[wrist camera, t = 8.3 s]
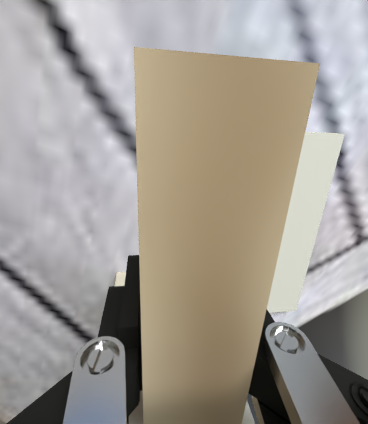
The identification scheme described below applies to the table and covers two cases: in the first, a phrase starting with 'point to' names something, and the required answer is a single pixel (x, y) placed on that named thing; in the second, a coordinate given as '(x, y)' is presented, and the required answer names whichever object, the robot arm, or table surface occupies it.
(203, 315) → the beige upright post
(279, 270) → the white rectangular board
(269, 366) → the robot arm
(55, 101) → the table surface
